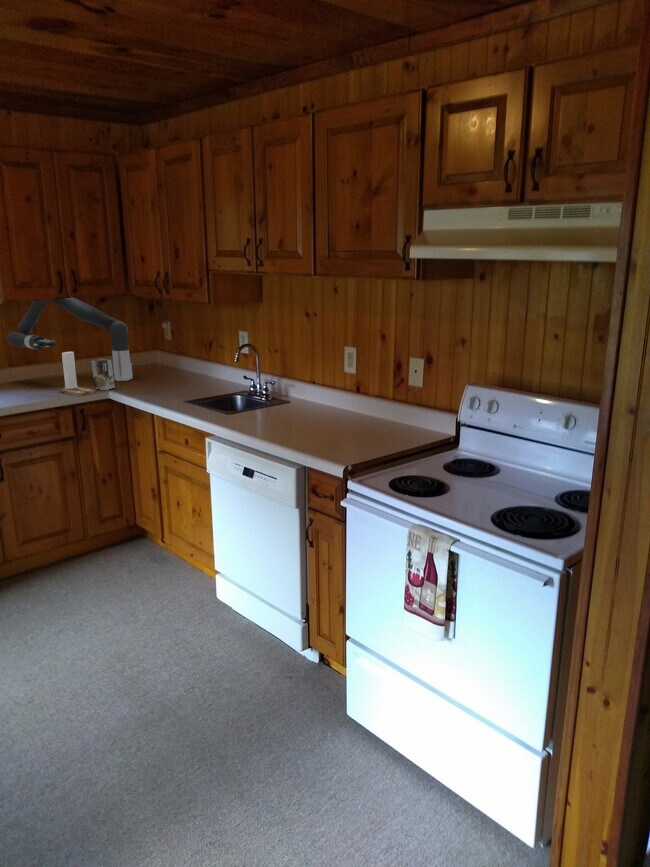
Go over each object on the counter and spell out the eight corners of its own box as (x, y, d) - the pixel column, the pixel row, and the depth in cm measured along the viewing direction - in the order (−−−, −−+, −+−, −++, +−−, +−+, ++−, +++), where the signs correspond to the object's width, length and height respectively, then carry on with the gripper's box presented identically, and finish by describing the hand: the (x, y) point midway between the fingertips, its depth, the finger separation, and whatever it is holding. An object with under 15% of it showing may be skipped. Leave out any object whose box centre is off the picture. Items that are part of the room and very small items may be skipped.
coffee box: (115, 388, 358) (112, 358, 354) (110, 390, 352) (107, 360, 348) (99, 387, 359) (96, 358, 355) (93, 390, 353) (91, 360, 349)
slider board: (75, 389, 355) (75, 386, 355) (95, 392, 346) (95, 389, 346) (59, 392, 347) (59, 389, 347) (79, 396, 338) (79, 393, 338)
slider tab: (73, 386, 352) (69, 351, 347) (77, 387, 350) (74, 352, 345) (64, 388, 348) (61, 352, 343) (69, 389, 346) (65, 353, 341)
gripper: (22, 336, 352) (42, 338, 343) (45, 333, 363) (64, 336, 353) (24, 350, 354) (43, 353, 345) (46, 347, 365) (65, 350, 355)
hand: (54, 344), depth 349 cm, fingers closed
